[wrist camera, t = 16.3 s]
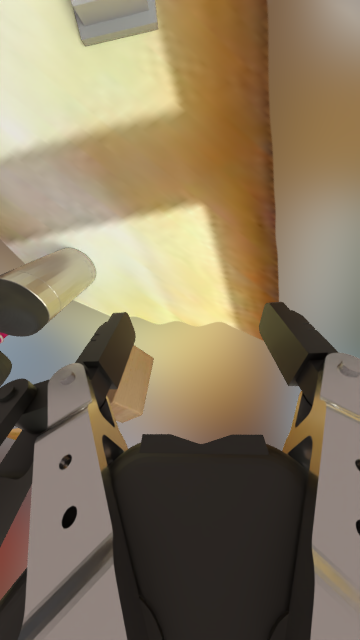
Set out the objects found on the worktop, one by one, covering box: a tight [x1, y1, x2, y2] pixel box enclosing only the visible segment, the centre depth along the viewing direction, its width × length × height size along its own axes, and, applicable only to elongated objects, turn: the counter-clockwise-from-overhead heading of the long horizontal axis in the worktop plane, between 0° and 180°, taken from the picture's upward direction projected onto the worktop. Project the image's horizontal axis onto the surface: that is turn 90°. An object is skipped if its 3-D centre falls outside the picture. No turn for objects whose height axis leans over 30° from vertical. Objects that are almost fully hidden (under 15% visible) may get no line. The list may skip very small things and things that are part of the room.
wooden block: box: [107, 345, 154, 423], centre depth 52 cm, size 10×10×20 cm
